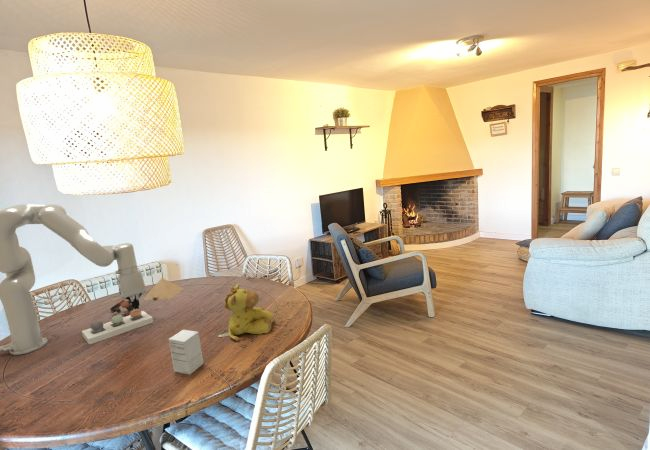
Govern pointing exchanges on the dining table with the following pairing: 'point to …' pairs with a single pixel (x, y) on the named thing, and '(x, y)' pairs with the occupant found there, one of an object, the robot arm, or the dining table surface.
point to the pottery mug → (125, 305)
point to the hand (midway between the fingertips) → (136, 308)
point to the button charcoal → (97, 326)
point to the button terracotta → (136, 314)
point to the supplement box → (186, 351)
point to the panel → (116, 328)
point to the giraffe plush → (246, 313)
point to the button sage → (117, 320)
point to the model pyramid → (163, 290)
